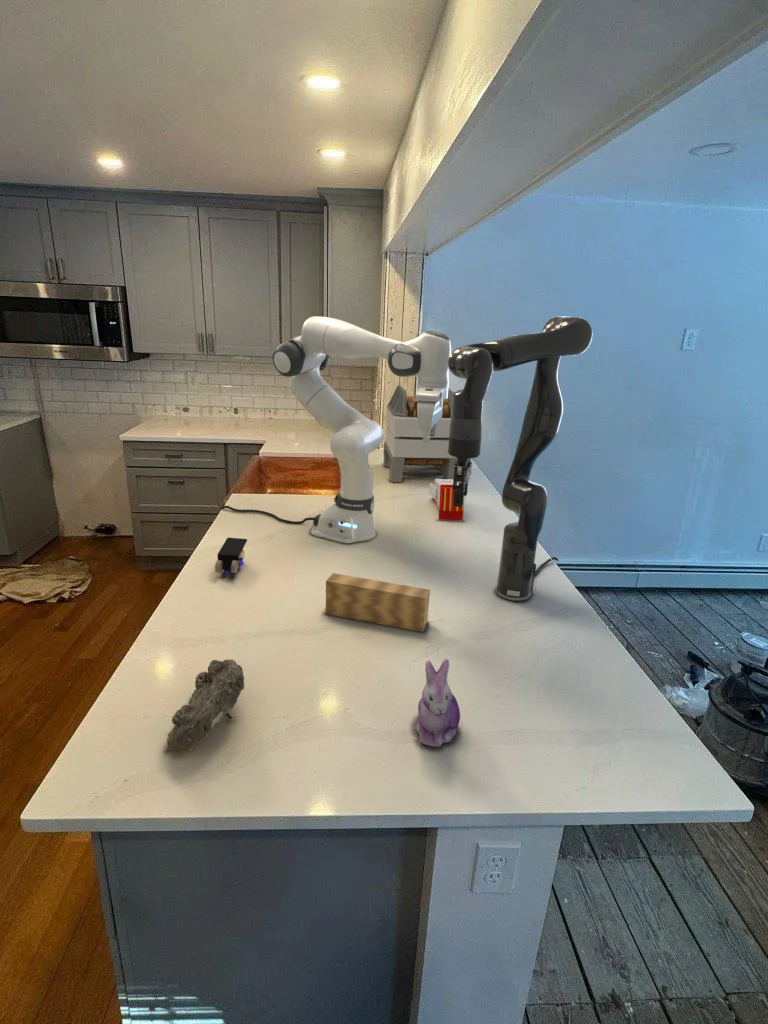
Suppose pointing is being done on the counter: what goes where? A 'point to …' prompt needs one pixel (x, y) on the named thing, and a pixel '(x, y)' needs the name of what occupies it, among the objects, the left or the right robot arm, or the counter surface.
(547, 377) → the right robot arm
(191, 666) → the counter surface
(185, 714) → the fossil
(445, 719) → the figurine
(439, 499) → the toy
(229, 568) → the figurine character
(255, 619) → the counter surface
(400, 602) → the bar
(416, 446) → the transformer
